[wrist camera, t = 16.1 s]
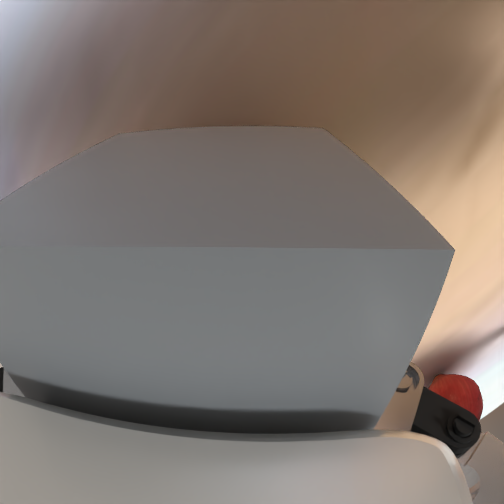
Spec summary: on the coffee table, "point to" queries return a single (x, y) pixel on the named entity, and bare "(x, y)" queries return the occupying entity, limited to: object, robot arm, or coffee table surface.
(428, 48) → the coffee table surface
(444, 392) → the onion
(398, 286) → the grey rectangular box
